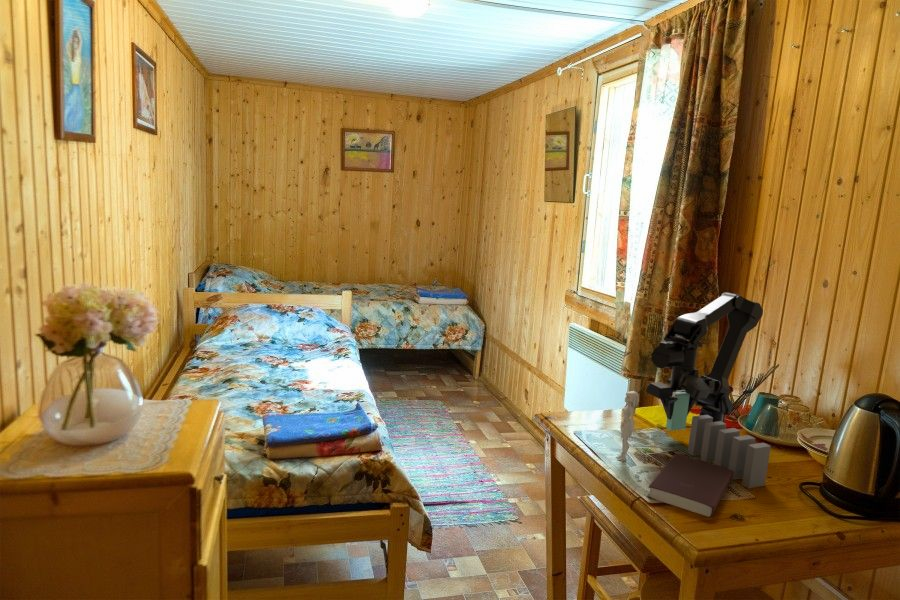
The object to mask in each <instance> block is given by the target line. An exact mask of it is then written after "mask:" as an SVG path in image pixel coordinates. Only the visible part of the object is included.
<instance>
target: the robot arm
mask: <svg viewBox="0 0 900 600" xmlns="http://www.w3.org/2000/svg"><path fill="white" fill-rule="evenodd" d="M763 314H764V309H763V307H762V305H761V303H759V302H756V301H752V300H749V299H747V298H745V297H743V296H742V295H740V294H738V293H733V292H728V291H727V292H723V293H722V294H720V296H719V297H718V298H716V299H714V300H713V301H711V302H709V303H708V304H707V305H705V306H704V307H703V308H701V309H699V310H698V311H695V312H689V313H684V314H682V315H680V316H677V317H676V319H675V320H674V322H673V323H672V325H671V326H670V328H669V330H668V331H667V333H666V335H665V336H664V338H663V340H664V341H659V345H658V346H656V347H655V348H654V349H653V350H652V352H651V361H652V363H653V365H654V366H655V367H656V368H658V369H665V368H666V369H667V368H668V369H670V370H671V375H670V378H667V379H666V383H667V384H669V385H667V384H665V383H663V382H660V381H657V382H655V381H654V382H649V383H648V384H646V393H647V394H649V395H651V396H652V397H655V398H657V399H659V400H660V402H661V405H662V407H663V410H664V412H665V415H666V419H667V418H668V419H669V420H671V418H672V414H673V408H674V403H675V402H676V401H677V400H678V398H676V397H675V393H680V392H686V393H688V394H690V398H689V405H688V413H687V417H688V415H689V413H690V412H691V410H692V409H693V406H694V405H696V406H697V407H698V406H699V407H701V408H700V412H699V414H698V416H701V415H709V416H711V417H713V422H718V421H721V422H723V423H725V419H726V418H725V417H726V415H730V413H731V414H732V411H733V408H734V404H733V402H732V400H731V399H730V398H729V395H730V392H731V388H730V383H729V378H730V375H731V372H732V371H733V367H734V365H735V364H736V360H737V359H738V356H739V353H740V351H741V349H742V346H743V343H744V341H745V339H746V336H747V334H748V333H749V332H750V331H751V330H753V329H755V328H756V327H757V325H758V323H759V321H760V320H761V318H762V317H763ZM725 316H726V318H727V322H728V328H727V330H726V333H725V336H724V338H723V341H722V342H721V343H722V344H721V346H720V348H719V350H718V353H717V356H716V358H715V360H714V363H713V364H712V367H711V370H710V372H709V373H707V374H706V375H701V376H700V377H699V373H700V372H699V369H697V368H696V363H697V354H698V349H699V348H702V347H703V344H702V342H701V341H700V340H702V339H703V338H704V337H705V336H706V335H707V334H708V332H709V331H708V330H709V327H711V326H712V325H713V324H715V323H716V322H718V321H719V320H721V319H722V318H723V317H725Z"/></svg>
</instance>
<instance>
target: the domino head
mask: <svg viewBox="0 0 900 600" xmlns="http://www.w3.org/2000/svg"><path fill="white" fill-rule="evenodd" d="M675 397H676V398H678V400H677V401H676V402H675V403H674V408H673V414H672V418H671V420H669V419H668V418H667V417H666V424H665V425H666V426H665V428H666V430H669V431H670V432H671V431H679V430H685V429H686V428H687V427H686V426H687V419H688V416H687V413H688V405H689V398H690V394H688V393H686V392H676V393H675Z"/></svg>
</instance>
